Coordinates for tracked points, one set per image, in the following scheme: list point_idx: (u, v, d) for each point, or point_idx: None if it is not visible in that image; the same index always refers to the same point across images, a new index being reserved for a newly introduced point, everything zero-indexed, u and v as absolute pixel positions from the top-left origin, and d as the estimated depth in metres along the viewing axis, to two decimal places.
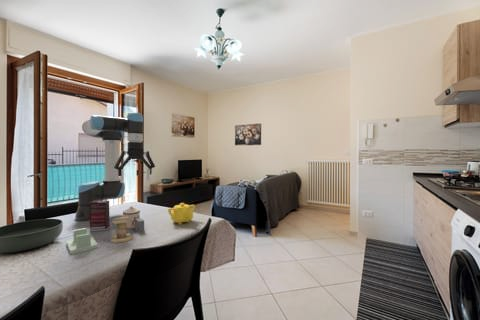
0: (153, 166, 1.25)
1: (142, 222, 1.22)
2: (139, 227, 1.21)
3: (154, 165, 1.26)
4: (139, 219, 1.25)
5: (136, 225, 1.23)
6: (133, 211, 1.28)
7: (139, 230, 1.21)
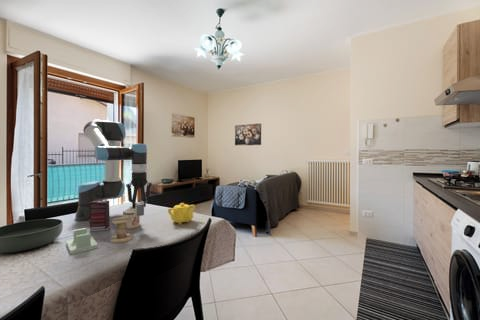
0: (147, 198, 1.26)
1: (142, 206, 1.22)
2: (139, 211, 1.21)
3: None
4: (139, 203, 1.24)
5: None
6: (133, 211, 1.28)
7: (139, 214, 1.21)
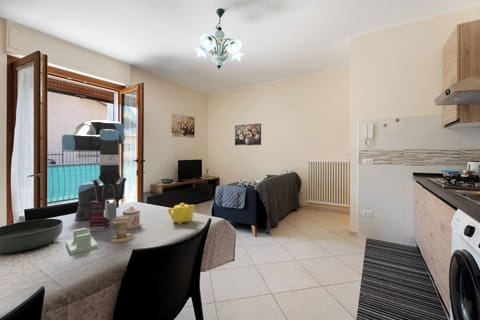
0: (121, 197, 1.03)
1: (113, 207, 0.99)
2: (109, 213, 0.98)
3: (122, 197, 1.03)
4: (110, 203, 1.01)
5: None
6: (133, 211, 1.28)
7: (109, 217, 0.98)
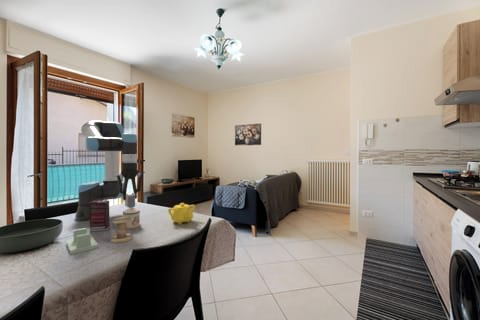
0: (138, 190, 1.23)
1: (132, 197, 1.19)
2: (129, 202, 1.18)
3: (140, 189, 1.24)
4: (130, 195, 1.21)
5: None
6: (133, 211, 1.28)
7: (129, 205, 1.18)
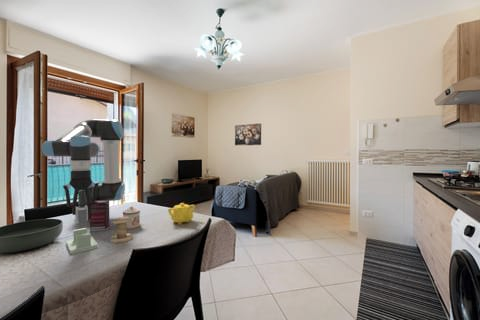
0: (92, 202, 1.04)
1: (84, 212, 1.00)
2: (79, 218, 0.99)
3: (94, 202, 1.05)
4: (81, 208, 1.03)
5: None
6: (133, 211, 1.28)
7: (79, 221, 0.99)
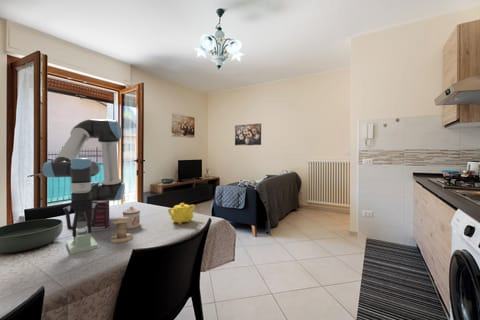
0: (93, 223, 1.05)
1: (84, 233, 1.01)
2: None
3: (95, 223, 1.05)
4: (82, 229, 1.03)
5: None
6: (133, 211, 1.28)
7: None
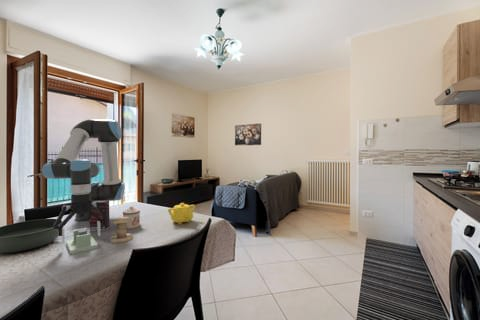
0: (105, 218, 1.08)
1: (84, 233, 1.01)
2: None
3: (106, 217, 1.08)
4: (82, 229, 1.03)
5: None
6: (133, 211, 1.28)
7: None
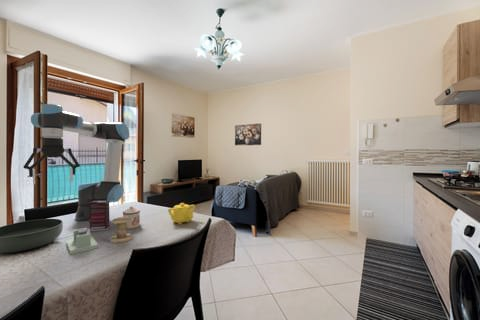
0: (77, 165, 1.11)
1: (84, 233, 1.01)
2: None
3: None
4: (82, 229, 1.03)
5: None
6: (133, 211, 1.28)
7: None
